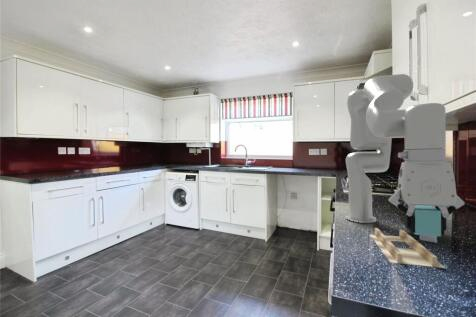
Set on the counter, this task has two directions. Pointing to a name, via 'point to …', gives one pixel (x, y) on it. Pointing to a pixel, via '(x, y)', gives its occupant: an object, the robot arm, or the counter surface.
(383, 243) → the channel
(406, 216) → the robot arm
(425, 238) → the medicine box
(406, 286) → the counter surface
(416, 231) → the block
